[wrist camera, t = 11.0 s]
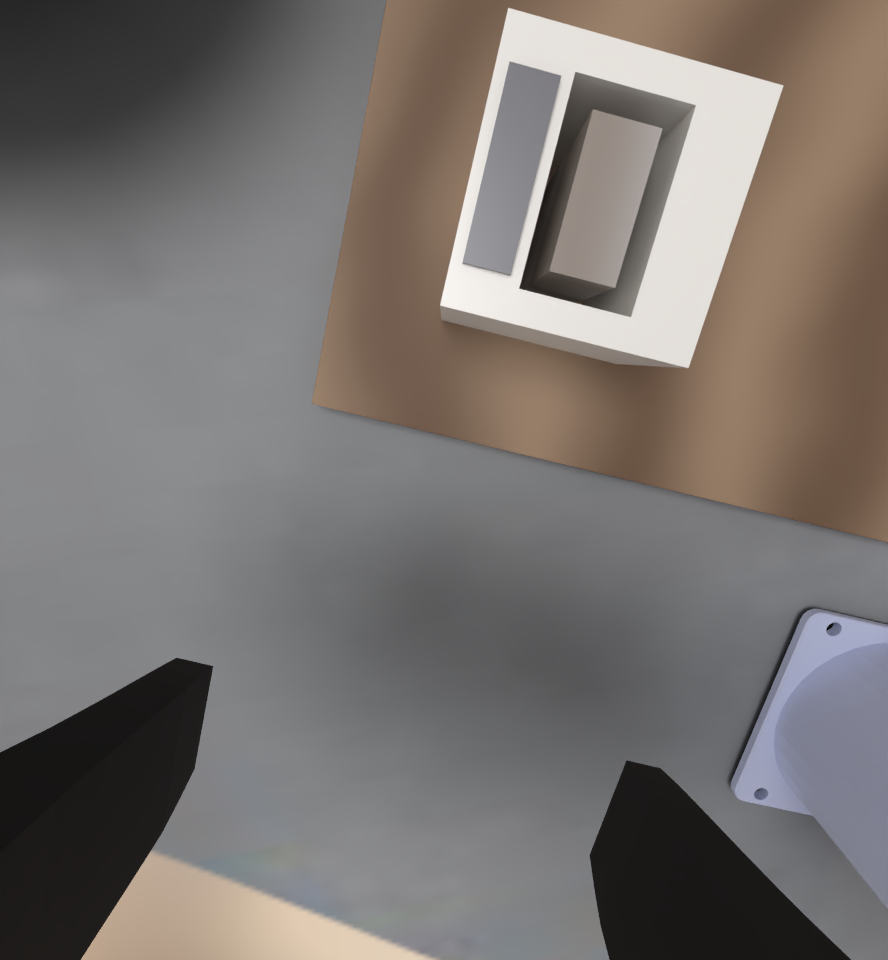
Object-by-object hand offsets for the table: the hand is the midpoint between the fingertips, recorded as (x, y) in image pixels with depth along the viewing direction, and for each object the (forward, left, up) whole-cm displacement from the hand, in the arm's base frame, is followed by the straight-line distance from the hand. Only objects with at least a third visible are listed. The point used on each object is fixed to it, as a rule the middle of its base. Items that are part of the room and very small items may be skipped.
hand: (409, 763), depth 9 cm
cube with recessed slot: (-1, -10, -9) cm, 14 cm away
